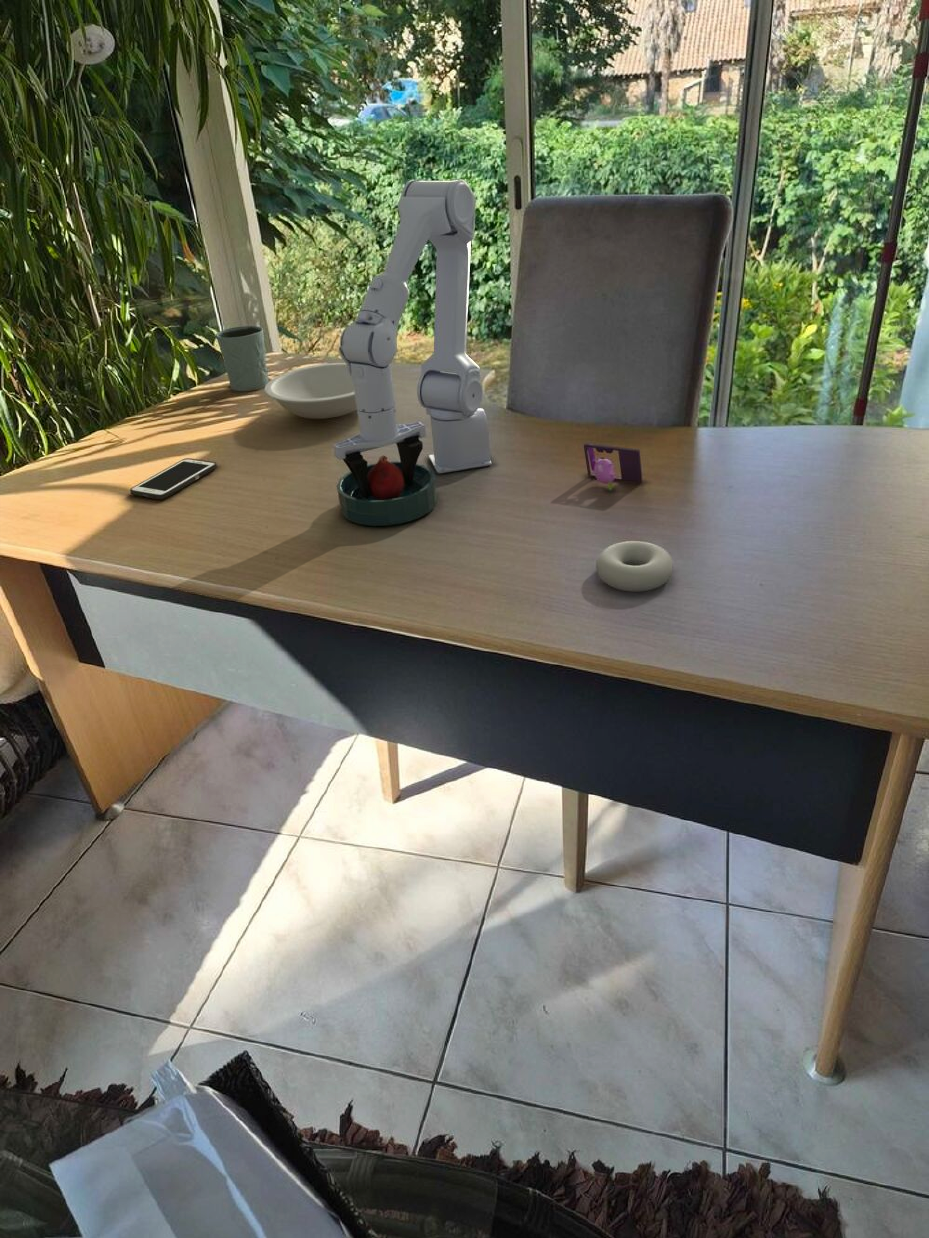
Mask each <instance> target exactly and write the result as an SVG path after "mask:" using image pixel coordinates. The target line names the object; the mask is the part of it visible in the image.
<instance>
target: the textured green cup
mask: <svg viewBox="0 0 929 1238" xmlns="http://www.w3.org/2000/svg"><path fill="white" fill-rule="evenodd" d="M215 337H216V340H217V345H218V346H219V350H220V353H221V356H222V360H223V363H224V367H225V371H226V374H227V377H228V381H229V385H230V389H231V390H233V391H236V392H250V391H251V392H252V391H257V390H260V389H263V388H265V385H266V384H267V383H268V382H269V381H270V380H269V375H268V372H269V371H268V367H267V356H266V347H265V335H264V329H263V327H261V326H258V325H257V326H256V325H242V326H233V327H229V328H225V329H222V330H219V331H218V332H217V333H216V334H215Z"/></svg>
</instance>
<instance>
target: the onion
mask: <svg viewBox="0 0 929 1238" xmlns="http://www.w3.org/2000/svg"><path fill="white" fill-rule="evenodd" d="M391 462H392V461H388V456H386V455H381V456H379V459H378V461H377V462H376V463H377V464H375V463H374V464H375V465H374V466H373V467H372V468H371V470H370V471H369V473H368V476H367V479H368V485H369V491H370V494H371V495H372V496H373V497H374V498H375V499H376V500H388V499H394V498H397V497H398V496H399V495H400V494H401V492H402V490H403V488H404V478H403V474H402V472H401V470H400V469H399V468H398V467H397V466H396V465H394V464H393V463H391Z"/></svg>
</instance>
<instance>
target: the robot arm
mask: <svg viewBox="0 0 929 1238" xmlns="http://www.w3.org/2000/svg"><path fill="white" fill-rule="evenodd" d="M476 201H477V198H476V196H475V194H474V193H473V191H472V189H471V187H470V185H469V184H468V183H467V181H465V180H463V179H455V180H418V179H412V180H408V181H407V182H406V183H405V184H404V186H403V188H402V190H401V194H400V198H399V200H398V202H397V211H398V217H399V221H400V222H399V224H398V228H397V230H396V234H395V237H394V239H393V243H392V246H391V249H390V253H389V256H388V259H387V262H386V265H385V267H384V270H383V272H382V273H380V274H377V275H375V276H374V277H372V279H371V281H370V284H369V286H368V288H367V292H366V294H365V297H364V299H363V301H362V304H361V306H360V308H359V310H358V313H357V316H356V318H355V320H354V322H352V323H350V325H347V326H346V327H345V328H344V329H343V331H342V333H341V335H340V340H339V341H340V342H339V347H338V352H339V356H340V358H341V359H342V361H343V362H344V363H346V364H347V369H348V373H350V375H351V376H352V380H353V386H354V393H355V400H356V407H357V410H356V413H357V420H358V426H359V433H357V434H356V435H353V436H351V437H349V438H346V439H344V440H342V441H339V442H336V443H333V444H332V449H333V453H334V457H335V458H337V459H338V460H339V461H343V462H344V463H345V465H346V466H347V468H348V469H349V472H351V473H352V474H353V476H354V478H355V480H356V482H357V485H358V487H359V490H360V493H361V495H362V496H363V497H364V498H365V499H368V498H370V491H369V485H368V479H367V465H368V461H367V460H366V459H365V458H364V455H363V454H362V453H364V452H369V451H372V450H375V449H379V448H383V447H386V446H390V445H395V444H396V447H397V451H398V456H399V461H401V470H402V474H403V478H404V483H405V484H406V485H408V486H412V485H413V478H414V471H415V467H416V463H417V464H418V460H419V457H420V455H421V453H422V451H423V449H424V444H423V441H422V440H420V439H423V438H426V437H427V430H426V424H424V423H422V422H421V421H417V422H412V423H403V424H398V419H397V411H396V410H397V409H396V403H395V394H394V393H395V392H394V385H393V376H392V369H391V363H392V362H393V360H394V358H395V356H396V355H397V351H398V350H397V349H398V335H399V333H398V332H399V329H398V325H399V323H400V320H401V318H402V316H403V313H404V311H405V308H406V306H407V303H408V301H409V298H410V291H409V288H408V285H407V282H408V280H409V277H410V276H411V274H412V272H413V270H414V269H415V266H416V264H417V262H418V260H419V258H420V257H421V255H422V252H423V251H424V249H425V246H426V245H427V243H428V241H430V242H431V244H432V245H433V247H434V248H435V250H436V261H435V265H436V266H435V295H434V300H435V301H434V325H433V326H434V329H433V331H434V332H433V333H434V334H433V353H432V354H431V355H430V356H429V357H428V358H427V359H426V360H425V361H423V362H422V364H421V366H420V370H421V371H420V376H419V380H418V381H417V386H416V395H417V400H418V402H419V404H420V406H421V407H422V408H424V409H425V413H426V415H429V416H430V426H431V427H430V428H431V437H432V448H433V453H432V454H429V455H428V459H429V461H430V462H431V465H433V467H434V469H435V471H436V473H437V474H446V473H452V472H457V471H465V470H469V469H475V468H481V467H488V466H491V465H492V460H491V450H490V449H491V447H490V432H489V424H488V417H487V414H486V412H485V410H484V408H481V407H480V406H481V404H482V400H483V385H482V382H481V368H480V366H479V365H478V364H477V363H476V362H475V361H474V360H473V359H471V358H470V357H469V355H467V338H468V314H469V313H468V312H469V291H470V290H469V289H470V267H471V247H472V246H471V245H472V241H473V240H474V239H475V228H476V227H475V223H476ZM479 407H480V408H479Z"/></svg>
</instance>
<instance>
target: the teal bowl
mask: <svg viewBox="0 0 929 1238" xmlns="http://www.w3.org/2000/svg"><path fill="white" fill-rule="evenodd" d="M390 462H391V463H393V464H394V465H396V466H397V467H398V468H399V469H400V470H401V461H400V460H397V461H396V460H395V461H394V460H393V461H390ZM377 463H378V462H375V463H370V464H367V476H368V473H369V471H370V470H371V468H372V467H373V466H374V465H375V464H377ZM401 472H402V470H401ZM336 492H337V497H338V504H339V509H340V512H341V515H342V516H343V517H344V518H346V520H348V521H350V522H353V523H356V524H359V525H363V526H372V527H373V526H374V527H377V526H378V527H381V526H394V525H399V524H404V523H407V522H411V521H414V520H417V519H419V518H421V517H423V516H425V515H426V514H428V513H430V512H431V511H432V510H433V509H434V507H436V504H437V502H438V501H437V500H438V495H437V485H436V475H435V473H434V471H433V470H432V469H431V468H429V467H427V466H426V465H424V464H420V463H418V462H417V463H416V467H415V471H414V478H413V485H412V486H408V485H406V484H405V483H404V488H403V490H402V492H401V494H400V495H399V496H398V497H397V498H394V499H388V500H376V499H375V498H374V497H373V496H372V495H371V494H370V498H368V499H365V498H364V497H363V496H362V495H361V493H360V490H359V487H358V485H357V482H356V480H355V478H354V476H353V474H352V473H351V471H349V472H347V473H345V474H344V475H342V477H341V478H339V479H338V482H337V484H336Z"/></svg>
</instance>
